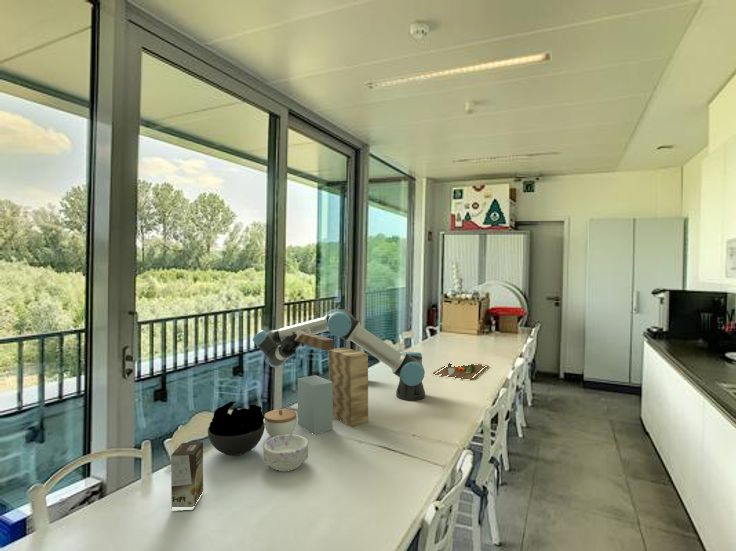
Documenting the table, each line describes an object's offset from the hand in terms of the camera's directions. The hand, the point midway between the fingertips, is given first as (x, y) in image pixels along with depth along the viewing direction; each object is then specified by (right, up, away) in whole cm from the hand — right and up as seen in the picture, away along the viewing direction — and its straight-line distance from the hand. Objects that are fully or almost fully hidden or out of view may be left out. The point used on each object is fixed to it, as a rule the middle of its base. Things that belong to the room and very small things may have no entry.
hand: (305, 331), depth 193 cm
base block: (+5, -39, -8) cm, 41 cm away
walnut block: (+4, -5, -5) cm, 8 cm away
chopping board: (+88, -37, +88) cm, 130 cm away
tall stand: (+19, -39, +2) cm, 44 cm away
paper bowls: (0, -41, -43) cm, 59 cm away
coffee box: (-24, -41, -67) cm, 82 cm away
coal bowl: (-20, -40, -34) cm, 56 cm away
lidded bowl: (-7, -40, -19) cm, 45 cm away
